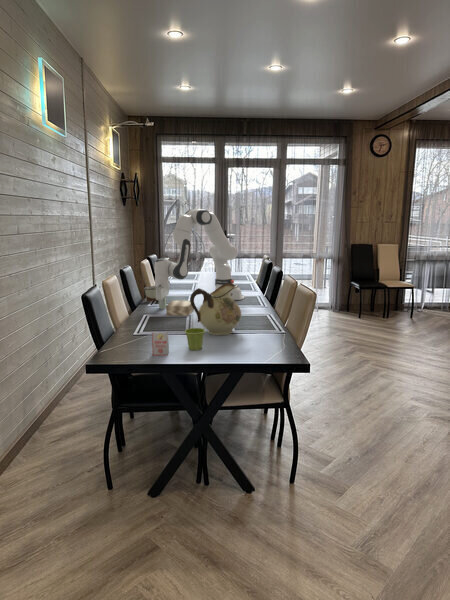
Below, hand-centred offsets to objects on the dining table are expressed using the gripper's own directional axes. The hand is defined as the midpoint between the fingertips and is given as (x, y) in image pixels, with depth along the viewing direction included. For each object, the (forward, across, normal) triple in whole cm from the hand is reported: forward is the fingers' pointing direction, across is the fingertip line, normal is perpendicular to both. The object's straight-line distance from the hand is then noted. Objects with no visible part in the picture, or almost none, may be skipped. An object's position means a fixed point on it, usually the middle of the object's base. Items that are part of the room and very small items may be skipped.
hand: (162, 304), depth 276 cm
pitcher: (+3, -52, -44) cm, 68 cm away
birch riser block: (+3, -10, -14) cm, 17 cm away
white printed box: (+3, -88, -22) cm, 91 cm away
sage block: (+3, 0, 0) cm, 3 cm away
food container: (+3, +22, +12) cm, 25 cm away
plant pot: (+3, -79, -36) cm, 87 cm away
